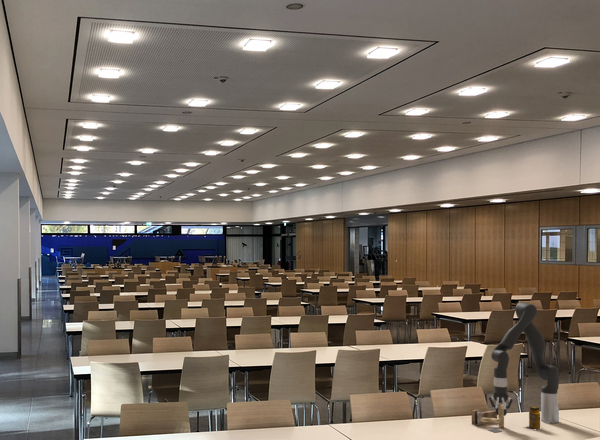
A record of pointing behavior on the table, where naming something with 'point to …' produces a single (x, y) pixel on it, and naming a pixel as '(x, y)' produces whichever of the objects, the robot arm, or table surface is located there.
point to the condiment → (534, 418)
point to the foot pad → (494, 430)
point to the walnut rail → (484, 414)
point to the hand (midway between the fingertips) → (501, 414)
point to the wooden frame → (493, 420)
